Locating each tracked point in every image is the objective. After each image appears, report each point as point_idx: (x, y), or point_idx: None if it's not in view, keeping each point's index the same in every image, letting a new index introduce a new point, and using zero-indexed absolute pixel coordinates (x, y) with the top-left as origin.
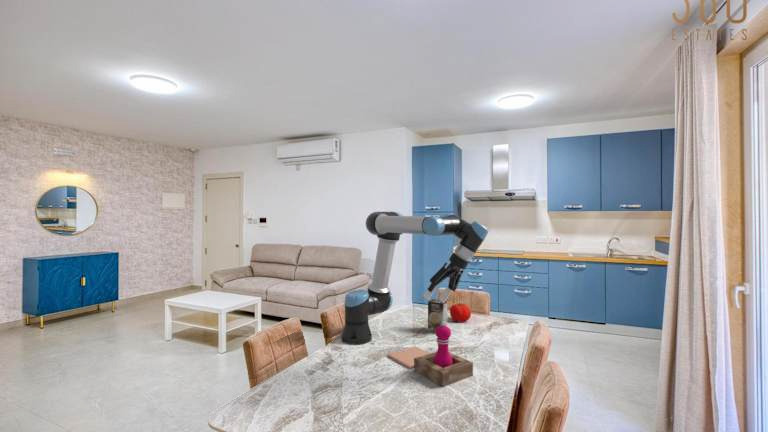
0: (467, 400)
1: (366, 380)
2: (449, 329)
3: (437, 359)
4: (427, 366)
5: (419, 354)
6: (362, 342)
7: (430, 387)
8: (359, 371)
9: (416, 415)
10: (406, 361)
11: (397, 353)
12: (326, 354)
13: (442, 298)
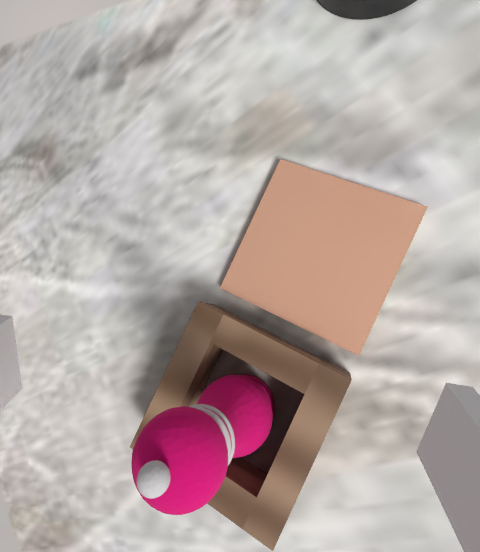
0: (113, 523)
1: (104, 213)
2: (169, 513)
3: (197, 403)
4: (167, 371)
5: (343, 266)
6: (339, 11)
7: (138, 395)
8: (140, 163)
9: (12, 408)
10: (252, 254)
11: (304, 187)
12: (196, 4)
13: (452, 456)
